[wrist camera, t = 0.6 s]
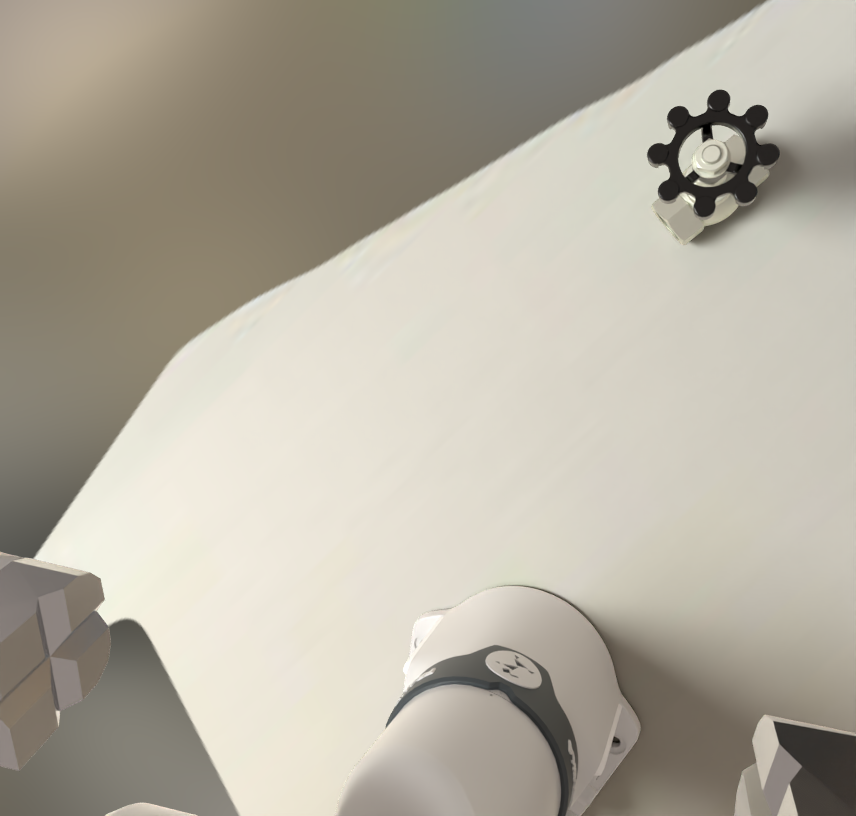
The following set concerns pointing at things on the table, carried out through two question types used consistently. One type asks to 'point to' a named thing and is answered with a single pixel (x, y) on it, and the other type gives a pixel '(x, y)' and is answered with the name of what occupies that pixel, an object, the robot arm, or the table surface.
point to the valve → (710, 167)
